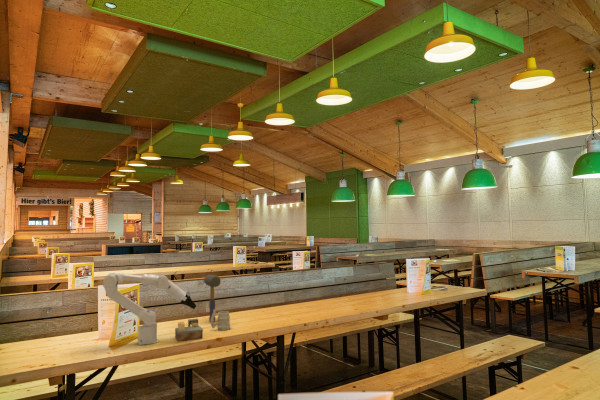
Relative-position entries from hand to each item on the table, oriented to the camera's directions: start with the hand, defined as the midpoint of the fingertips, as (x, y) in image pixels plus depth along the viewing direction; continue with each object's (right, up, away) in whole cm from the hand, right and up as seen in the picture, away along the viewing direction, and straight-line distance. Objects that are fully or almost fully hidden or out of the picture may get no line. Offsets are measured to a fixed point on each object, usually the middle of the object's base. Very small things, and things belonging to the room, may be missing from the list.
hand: (194, 306), depth 213 cm
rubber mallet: (+2, -20, +35) cm, 40 cm away
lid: (-2, -13, -2) cm, 13 cm away
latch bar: (-2, -12, +6) cm, 13 cm away
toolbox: (-4, -17, 0) cm, 17 cm away
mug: (+11, -18, +15) cm, 26 cm away
